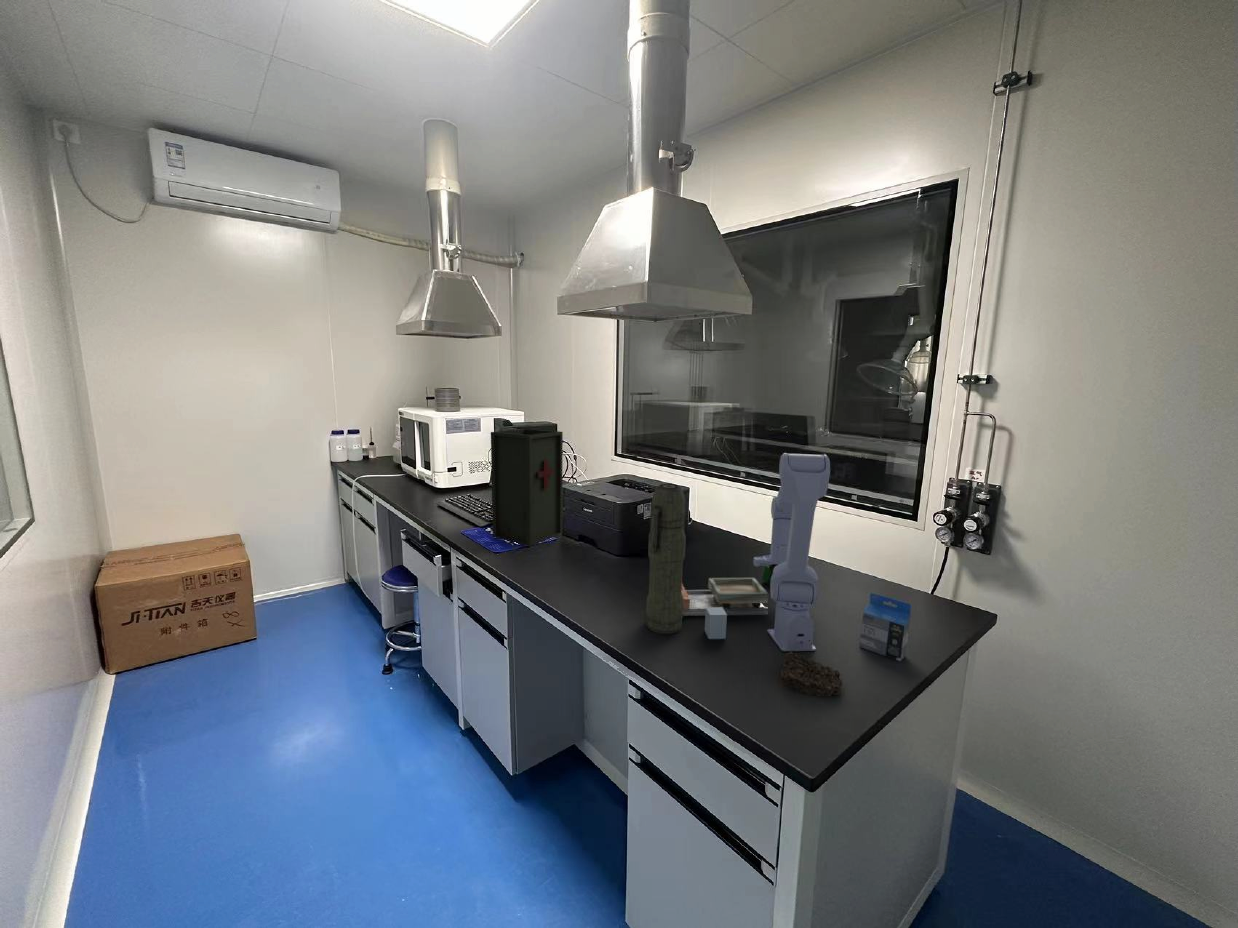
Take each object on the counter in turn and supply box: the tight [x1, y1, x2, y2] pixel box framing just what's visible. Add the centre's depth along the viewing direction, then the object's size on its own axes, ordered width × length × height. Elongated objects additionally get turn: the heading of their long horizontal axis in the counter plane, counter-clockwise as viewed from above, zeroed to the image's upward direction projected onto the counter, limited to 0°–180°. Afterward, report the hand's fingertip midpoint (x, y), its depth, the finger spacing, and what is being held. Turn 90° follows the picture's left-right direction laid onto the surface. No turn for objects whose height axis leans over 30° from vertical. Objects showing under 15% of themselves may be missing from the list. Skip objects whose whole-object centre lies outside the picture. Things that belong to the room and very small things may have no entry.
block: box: [704, 607, 728, 640], centre depth 121 cm, size 4×4×6 cm
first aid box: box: [490, 428, 564, 548], centre depth 191 cm, size 18×18×40 cm
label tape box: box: [859, 592, 912, 662], centre depth 114 cm, size 9×4×12 cm, turn 45°
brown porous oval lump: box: [779, 651, 843, 698], centre depth 101 cm, size 12×10×5 cm
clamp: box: [761, 565, 772, 585], centre depth 154 cm, size 12×6×9 cm, turn 122°
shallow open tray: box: [707, 577, 769, 608], centre depth 137 cm, size 11×13×4 cm
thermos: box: [645, 483, 687, 635], centre depth 123 cm, size 9×12×35 cm
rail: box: [681, 583, 769, 617], centre depth 137 cm, size 12×22×4 cm, turn 94°
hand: (778, 590), depth 138 cm, fingers closed
